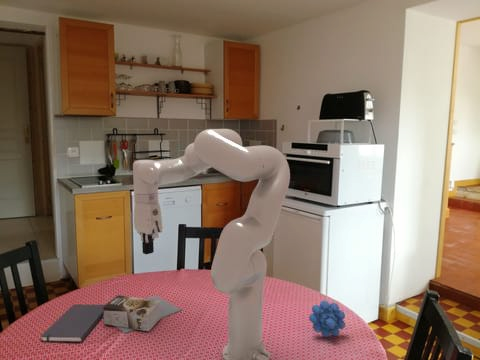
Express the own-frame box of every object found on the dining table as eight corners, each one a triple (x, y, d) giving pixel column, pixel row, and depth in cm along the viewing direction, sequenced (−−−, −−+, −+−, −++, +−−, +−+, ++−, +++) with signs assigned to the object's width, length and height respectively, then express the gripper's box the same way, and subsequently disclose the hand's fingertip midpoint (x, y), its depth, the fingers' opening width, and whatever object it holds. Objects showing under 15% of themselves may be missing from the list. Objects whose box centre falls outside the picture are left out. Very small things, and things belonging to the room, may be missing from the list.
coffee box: (148, 312, 123) (102, 306, 127) (149, 332, 124) (103, 325, 128) (161, 299, 132) (117, 294, 135) (161, 318, 133) (118, 311, 136)
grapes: (312, 345, 119) (314, 307, 117) (306, 333, 125) (307, 297, 123) (349, 343, 120) (352, 306, 118) (341, 332, 126) (343, 296, 125)
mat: (181, 310, 139) (181, 309, 139) (125, 333, 123) (125, 332, 123) (155, 296, 150) (155, 295, 150) (100, 316, 134) (100, 314, 134)
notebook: (81, 342, 118) (109, 308, 139) (81, 337, 117) (108, 304, 138) (40, 341, 118) (73, 308, 139) (39, 336, 118) (73, 304, 139)
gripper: (169, 199, 125) (171, 255, 128) (143, 194, 136) (145, 246, 138) (149, 202, 120) (151, 261, 122) (123, 196, 130) (126, 250, 133)
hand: (148, 252), depth 130 cm, fingers closed
